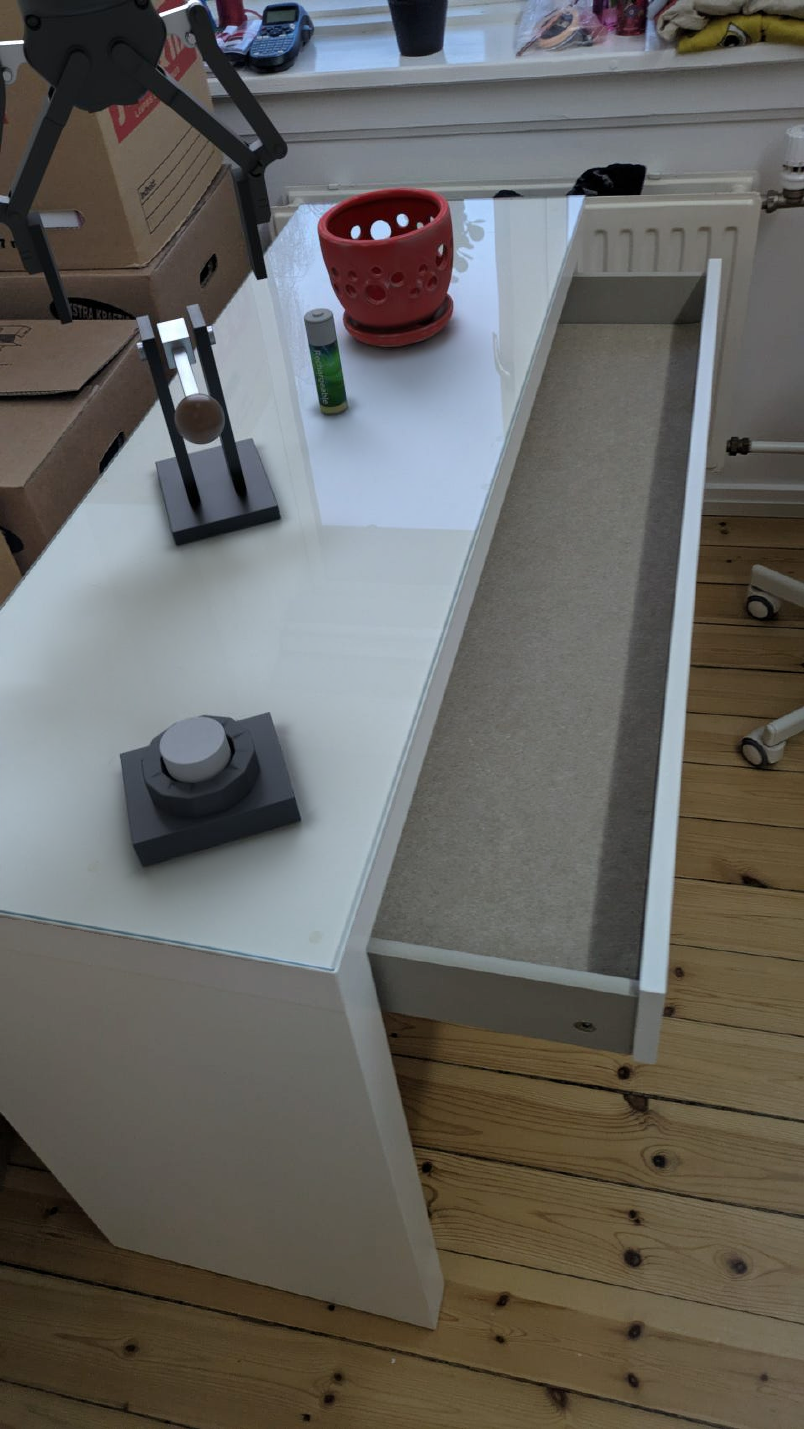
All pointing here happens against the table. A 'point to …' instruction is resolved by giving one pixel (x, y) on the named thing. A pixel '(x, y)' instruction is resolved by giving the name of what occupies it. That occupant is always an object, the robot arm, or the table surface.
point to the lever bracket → (206, 456)
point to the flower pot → (390, 265)
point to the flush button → (195, 749)
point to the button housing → (208, 794)
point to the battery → (326, 360)
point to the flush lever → (190, 387)
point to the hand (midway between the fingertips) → (163, 294)
